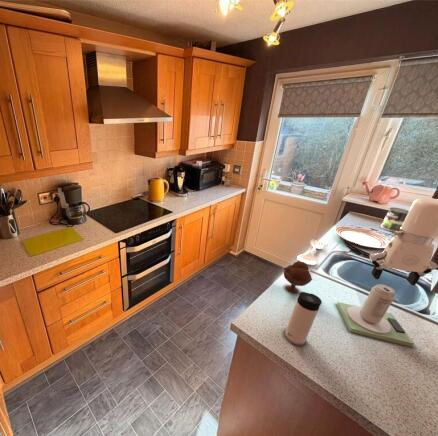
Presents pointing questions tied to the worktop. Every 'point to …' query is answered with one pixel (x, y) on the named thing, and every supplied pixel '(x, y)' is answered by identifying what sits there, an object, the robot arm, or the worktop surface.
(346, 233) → the dinner plate
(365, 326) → the kitchen scale
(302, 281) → the ice cream bowl
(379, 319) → the energy drink can
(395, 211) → the glass jar
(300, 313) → the travel mug
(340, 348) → the worktop surface
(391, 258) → the robot arm
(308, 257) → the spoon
